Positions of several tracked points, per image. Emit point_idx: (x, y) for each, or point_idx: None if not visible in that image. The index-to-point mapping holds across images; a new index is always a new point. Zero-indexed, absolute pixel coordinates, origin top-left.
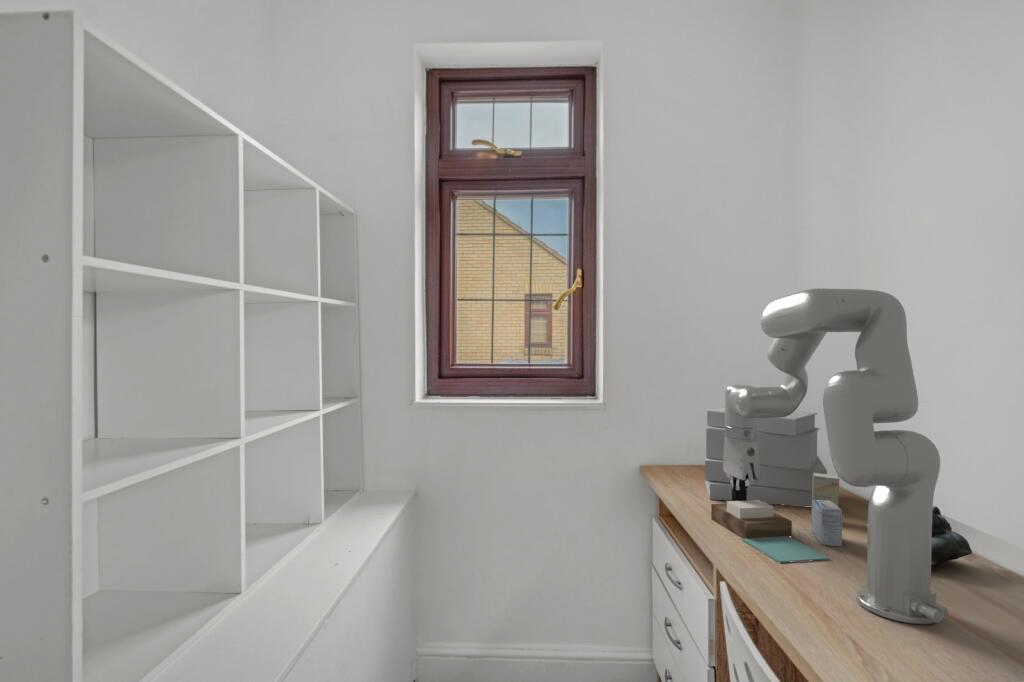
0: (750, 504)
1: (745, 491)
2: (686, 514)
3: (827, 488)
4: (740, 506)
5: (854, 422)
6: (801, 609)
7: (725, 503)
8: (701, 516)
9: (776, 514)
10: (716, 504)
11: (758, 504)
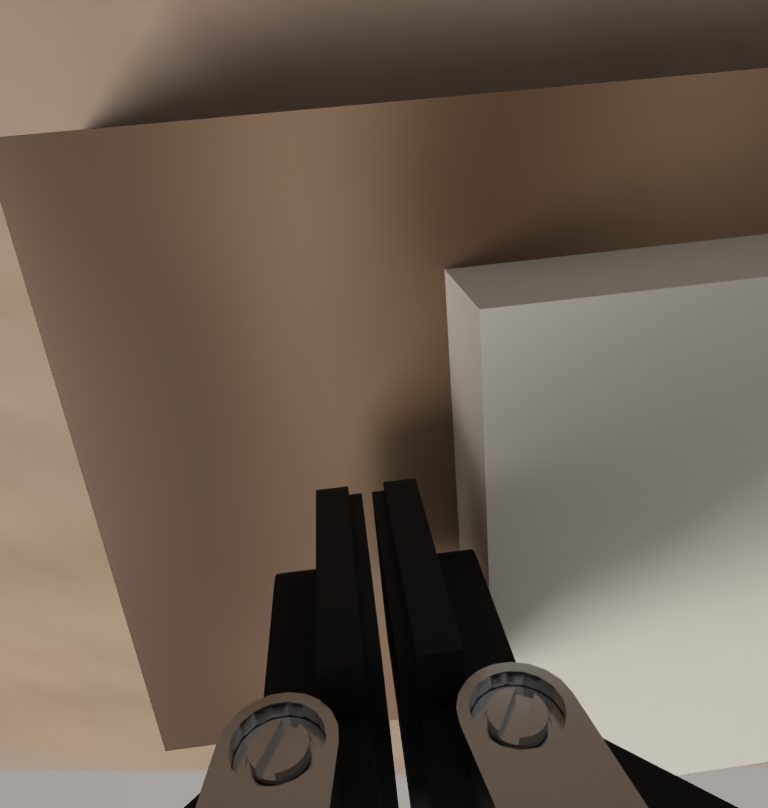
0: (704, 571)
1: (460, 643)
2: (57, 764)
3: None
4: (750, 725)
5: None
6: None
7: (123, 600)
8: (108, 671)
9: (726, 106)
10: (181, 709)
11: (737, 452)
